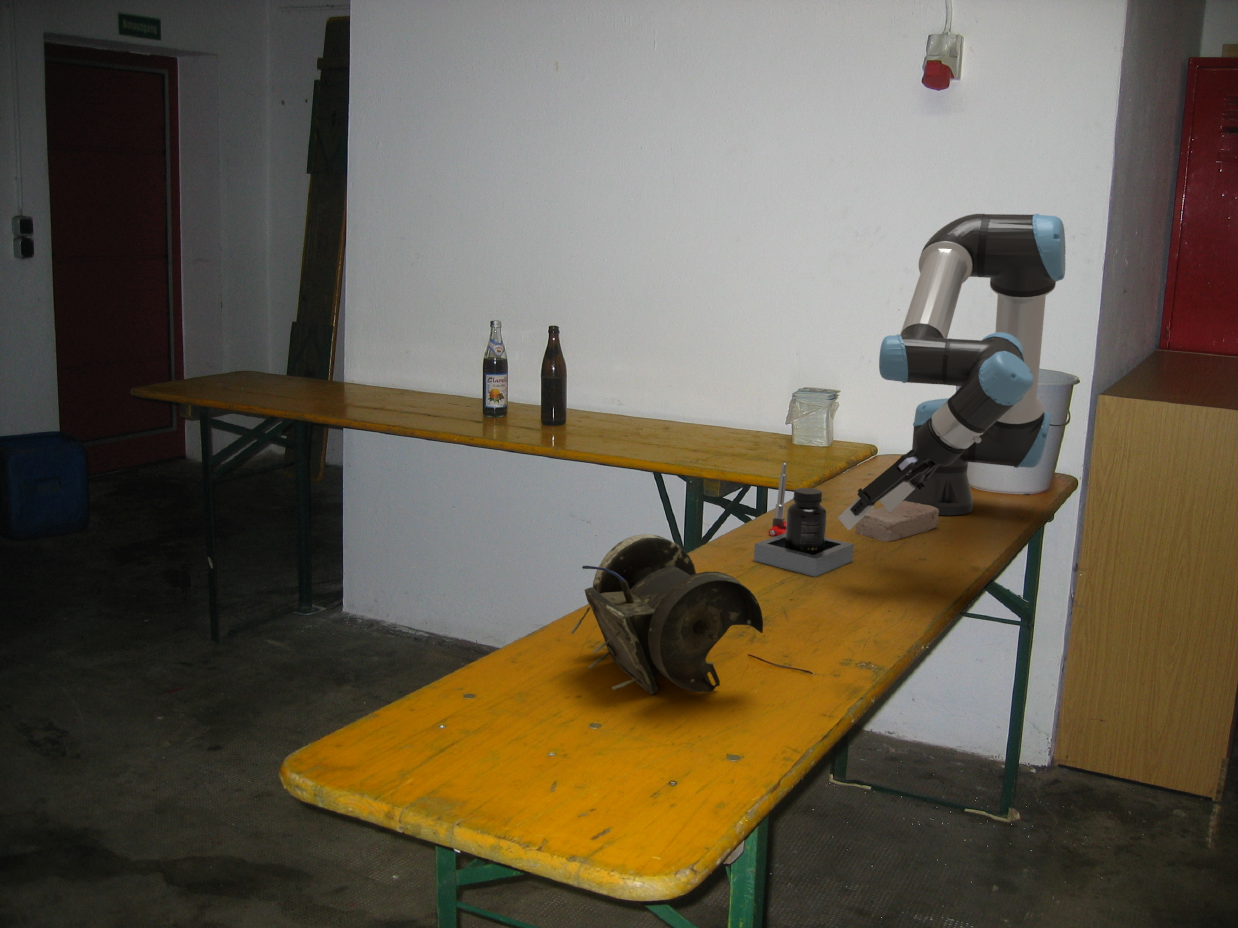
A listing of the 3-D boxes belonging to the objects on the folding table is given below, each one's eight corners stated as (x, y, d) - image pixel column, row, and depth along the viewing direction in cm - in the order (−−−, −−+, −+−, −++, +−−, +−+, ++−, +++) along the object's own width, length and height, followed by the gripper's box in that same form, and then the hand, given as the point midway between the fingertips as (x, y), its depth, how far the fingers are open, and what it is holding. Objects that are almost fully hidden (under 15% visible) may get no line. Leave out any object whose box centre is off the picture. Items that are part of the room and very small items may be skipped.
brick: (888, 543, 205) (890, 519, 204) (852, 533, 211) (854, 510, 210) (938, 530, 216) (940, 507, 215) (903, 521, 222) (905, 499, 221)
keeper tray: (792, 546, 201) (793, 530, 200) (852, 561, 193) (853, 543, 192) (753, 560, 191) (754, 543, 191) (815, 576, 183) (816, 558, 183)
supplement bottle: (830, 556, 193) (834, 490, 190) (812, 565, 187) (817, 497, 185) (795, 548, 196) (799, 484, 194) (777, 557, 191) (781, 491, 188)
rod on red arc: (829, 535, 211) (780, 525, 215) (837, 466, 208) (787, 457, 212) (817, 547, 203) (766, 537, 207) (825, 475, 200) (773, 466, 203)
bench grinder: (706, 610, 156) (651, 492, 149) (789, 659, 136) (730, 526, 129) (589, 687, 150) (527, 569, 144) (658, 751, 130) (589, 616, 124)
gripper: (927, 466, 160) (840, 549, 173) (998, 437, 178) (915, 515, 191) (894, 428, 163) (811, 513, 176) (967, 404, 181) (887, 482, 194)
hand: (865, 514), depth 183 cm, fingers open, 13 cm apart
